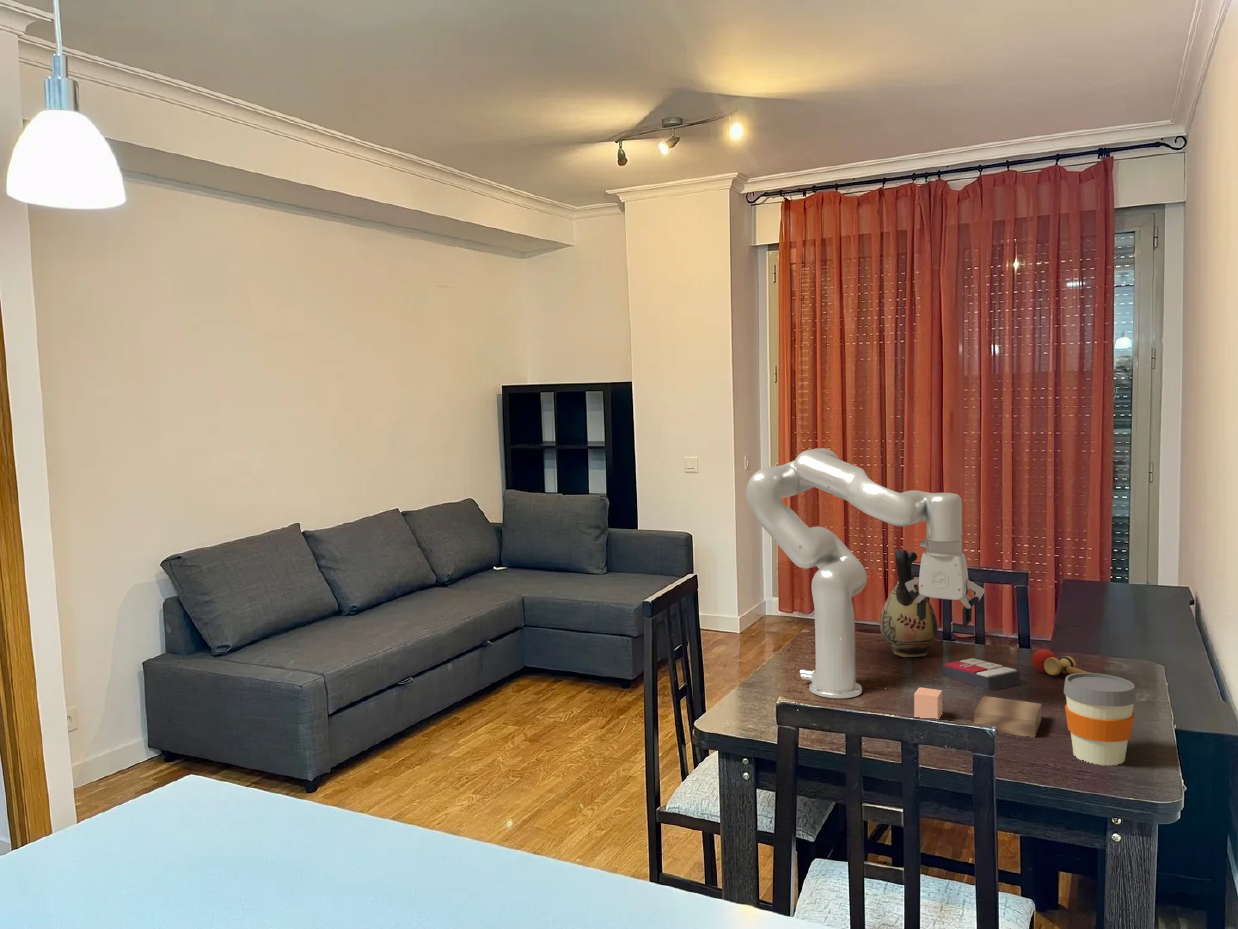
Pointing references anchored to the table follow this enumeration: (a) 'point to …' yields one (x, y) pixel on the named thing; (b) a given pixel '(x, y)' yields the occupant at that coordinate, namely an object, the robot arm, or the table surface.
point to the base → (1009, 715)
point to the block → (928, 703)
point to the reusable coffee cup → (1099, 716)
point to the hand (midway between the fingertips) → (943, 622)
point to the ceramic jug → (906, 615)
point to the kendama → (1054, 663)
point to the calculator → (982, 674)
